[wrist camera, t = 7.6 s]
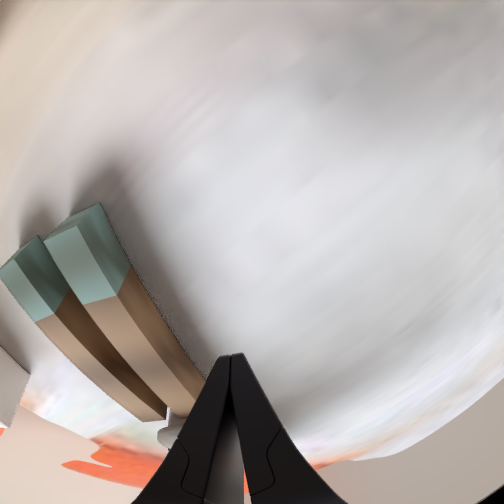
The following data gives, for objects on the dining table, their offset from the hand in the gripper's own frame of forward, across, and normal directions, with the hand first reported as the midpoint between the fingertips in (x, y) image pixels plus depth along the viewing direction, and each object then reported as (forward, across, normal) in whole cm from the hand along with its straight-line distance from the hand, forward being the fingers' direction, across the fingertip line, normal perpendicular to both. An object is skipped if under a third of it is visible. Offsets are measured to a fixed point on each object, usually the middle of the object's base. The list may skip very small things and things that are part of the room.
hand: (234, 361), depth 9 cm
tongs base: (+7, +9, +7) cm, 14 cm away
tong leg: (+7, +7, +4) cm, 11 cm away
